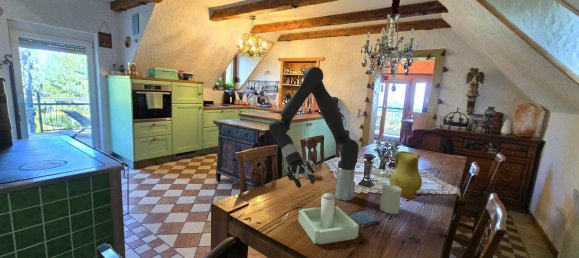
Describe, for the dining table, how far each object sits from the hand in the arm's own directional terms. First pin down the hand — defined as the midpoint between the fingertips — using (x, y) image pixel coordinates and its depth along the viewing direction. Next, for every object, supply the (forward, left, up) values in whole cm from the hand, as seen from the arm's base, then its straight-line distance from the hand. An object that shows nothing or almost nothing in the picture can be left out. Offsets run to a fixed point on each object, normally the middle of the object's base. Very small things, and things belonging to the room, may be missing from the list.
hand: (307, 185), depth 117 cm
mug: (-23, -51, -15) cm, 58 cm away
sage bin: (-5, +13, -15) cm, 20 cm away
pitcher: (-69, -12, -15) cm, 71 cm away
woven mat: (-25, +10, -15) cm, 31 cm away
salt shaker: (-5, +13, -14) cm, 19 cm away
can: (-45, +4, -15) cm, 47 cm away
